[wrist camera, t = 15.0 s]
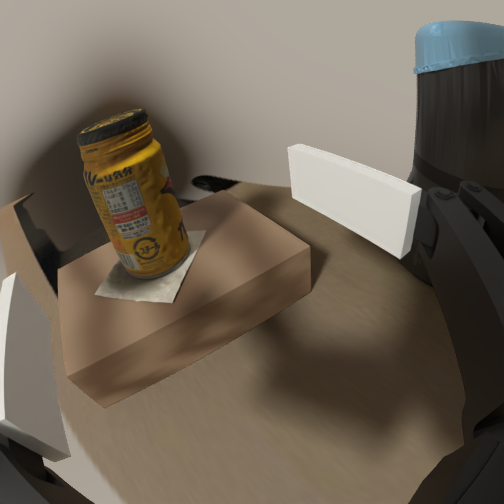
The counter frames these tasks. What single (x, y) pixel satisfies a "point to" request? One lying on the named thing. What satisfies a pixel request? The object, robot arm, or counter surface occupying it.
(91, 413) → the counter surface
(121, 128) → the condiment
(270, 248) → the stand
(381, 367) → the counter surface
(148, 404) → the counter surface
